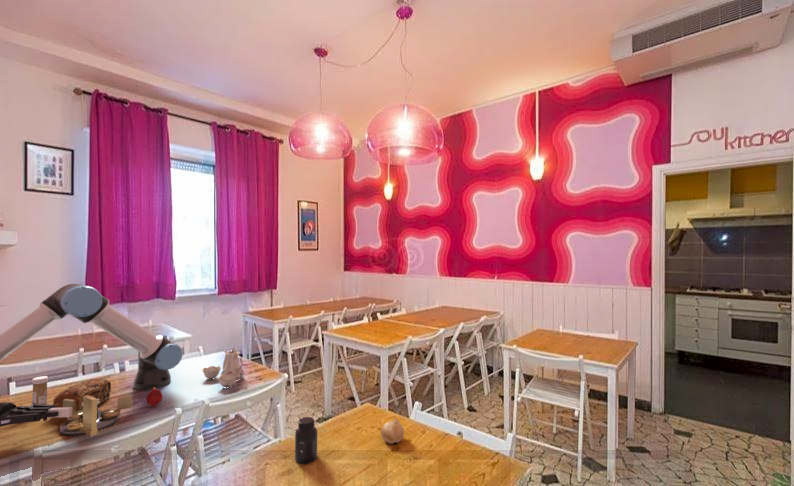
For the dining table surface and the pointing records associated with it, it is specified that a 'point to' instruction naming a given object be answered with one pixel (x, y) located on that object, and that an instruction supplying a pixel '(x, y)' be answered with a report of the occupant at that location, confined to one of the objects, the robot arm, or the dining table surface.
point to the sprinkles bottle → (39, 390)
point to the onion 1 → (154, 397)
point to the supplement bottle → (306, 441)
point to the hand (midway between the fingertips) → (70, 412)
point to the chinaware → (227, 369)
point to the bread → (84, 392)
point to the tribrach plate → (99, 426)
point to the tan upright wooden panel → (86, 417)
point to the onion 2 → (392, 432)
